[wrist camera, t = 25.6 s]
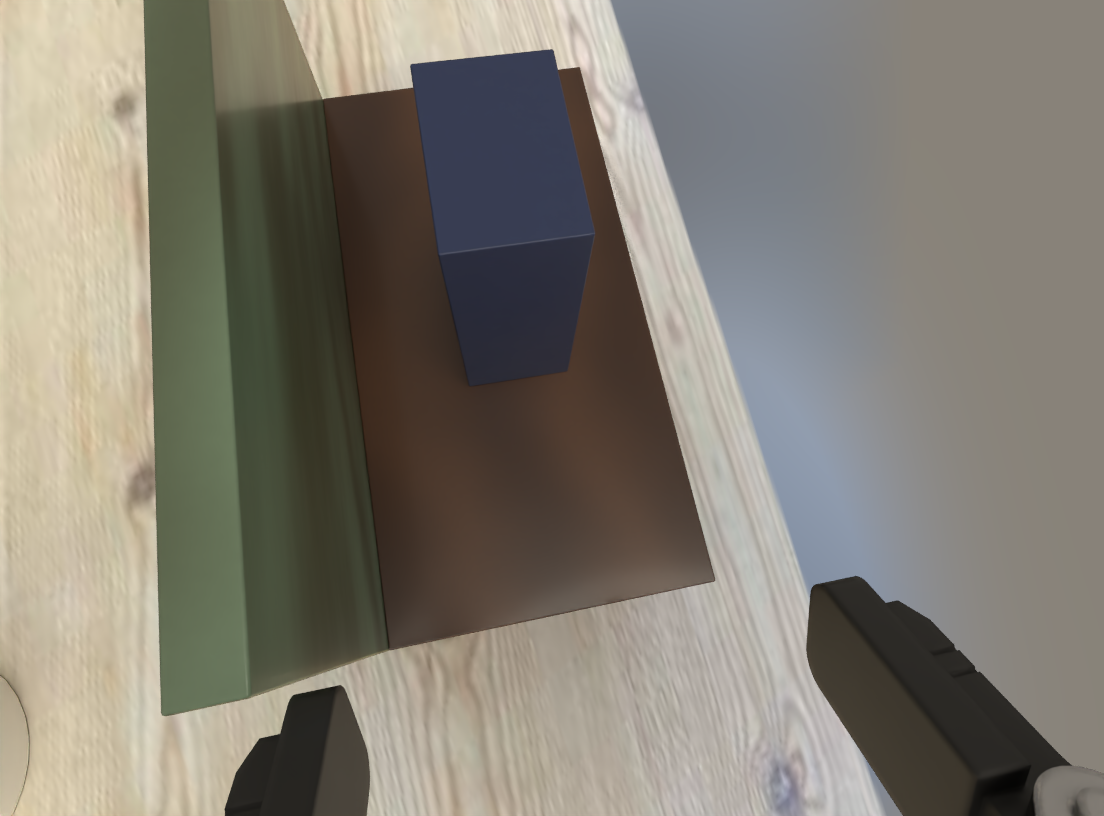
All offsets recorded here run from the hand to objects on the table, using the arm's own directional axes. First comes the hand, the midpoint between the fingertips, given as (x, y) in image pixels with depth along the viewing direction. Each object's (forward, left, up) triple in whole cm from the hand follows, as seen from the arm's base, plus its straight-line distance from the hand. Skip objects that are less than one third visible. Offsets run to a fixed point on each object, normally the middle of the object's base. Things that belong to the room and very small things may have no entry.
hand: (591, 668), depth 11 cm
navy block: (-1, -13, -12) cm, 18 cm away
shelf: (0, -13, -17) cm, 22 cm away
